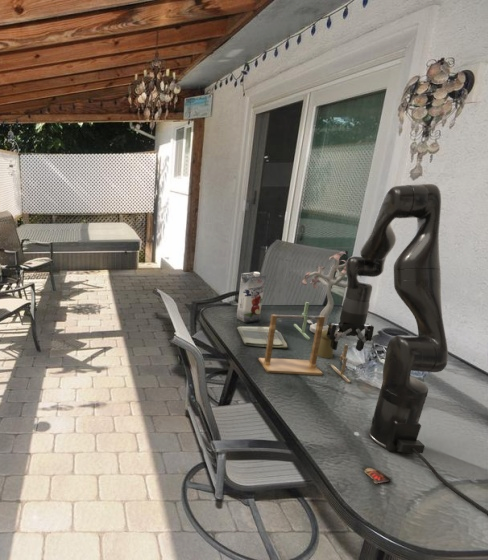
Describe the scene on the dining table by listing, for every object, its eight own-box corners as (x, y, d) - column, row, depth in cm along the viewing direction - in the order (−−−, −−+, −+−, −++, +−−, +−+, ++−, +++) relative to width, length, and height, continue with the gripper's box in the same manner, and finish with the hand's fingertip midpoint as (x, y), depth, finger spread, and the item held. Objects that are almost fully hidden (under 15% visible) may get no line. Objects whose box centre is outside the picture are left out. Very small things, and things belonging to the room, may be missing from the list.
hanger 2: (350, 383, 130) (357, 352, 127) (347, 383, 131) (354, 352, 127) (332, 366, 142) (338, 337, 138) (330, 366, 142) (336, 337, 138)
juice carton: (233, 318, 190) (239, 270, 182) (249, 315, 193) (255, 268, 185) (245, 324, 182) (252, 274, 174) (262, 321, 185) (269, 272, 177)
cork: (335, 358, 147) (340, 335, 144) (319, 357, 149) (324, 334, 145) (328, 351, 153) (333, 328, 150) (313, 350, 154) (317, 327, 151)
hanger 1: (310, 340, 132) (316, 308, 128) (307, 339, 132) (313, 308, 128) (295, 325, 143) (301, 296, 139) (293, 325, 143) (298, 296, 139)
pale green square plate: (244, 346, 160) (244, 339, 159) (236, 329, 176) (237, 323, 176) (289, 349, 156) (290, 343, 155) (277, 332, 172) (278, 326, 171)
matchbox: (392, 479, 90) (392, 478, 90) (380, 486, 88) (380, 485, 88) (371, 466, 94) (371, 465, 94) (359, 473, 92) (359, 471, 92)
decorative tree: (280, 318, 188) (291, 245, 177) (326, 319, 186) (341, 244, 174) (307, 342, 162) (323, 258, 150) (362, 343, 160) (382, 257, 148)
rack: (322, 375, 136) (333, 321, 129) (267, 372, 139) (275, 320, 132) (309, 362, 145) (319, 311, 139) (258, 359, 148) (265, 310, 142)
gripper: (339, 313, 125) (331, 353, 130) (383, 314, 123) (373, 355, 128) (328, 305, 133) (320, 344, 137) (369, 306, 131) (360, 345, 135)
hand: (346, 349), depth 133 cm, fingers open, 8 cm apart
